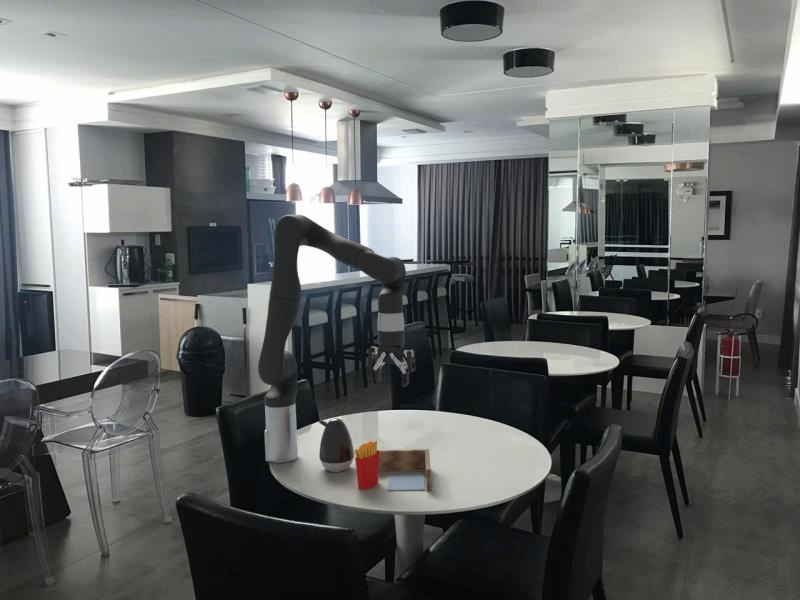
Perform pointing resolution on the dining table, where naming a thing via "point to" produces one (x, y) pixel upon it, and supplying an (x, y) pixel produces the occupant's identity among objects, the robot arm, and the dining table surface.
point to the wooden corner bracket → (406, 461)
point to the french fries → (367, 465)
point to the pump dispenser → (336, 446)
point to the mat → (406, 483)
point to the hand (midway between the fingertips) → (391, 384)
